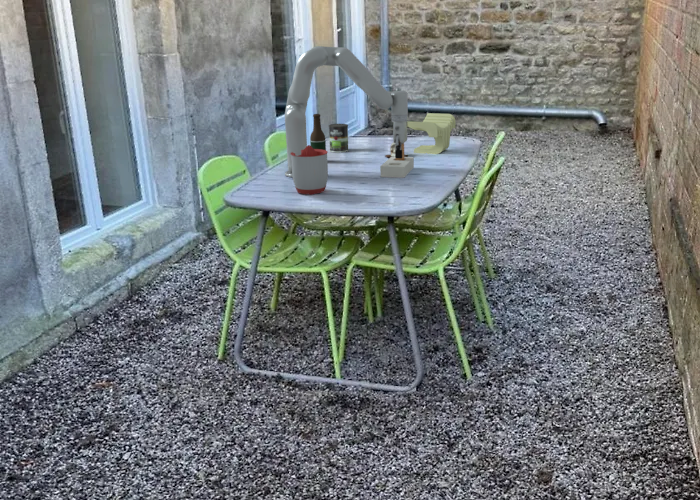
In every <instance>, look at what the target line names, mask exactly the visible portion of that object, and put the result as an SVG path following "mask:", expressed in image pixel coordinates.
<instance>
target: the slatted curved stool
mask: <svg viewBox="0 0 700 500" xmlns="http://www.w3.org/2000/svg"><path fill="white" fill-rule="evenodd" d="M406 123H407V128H409V129H412V130H413V131H423V132H426V133H427V135H428V138H433V140H434V141H435V143H434V144H430V145H426V144H423V145H419V146H417V147H415V148H413V154H424V155H425V154H426V153H427V154H428V155H430V154H431V155H438V154H440V153H442V152H444V151H445V150H448V148H449V147H450V141H451V140H450V139H451V132H452V130H453V129H456V117H455V115H453V114H451V113H435V112H434V113H430V112H427V113H426V116H425V117H424V119H423V120H422V121H410V120H409V121H407V122H406Z"/></svg>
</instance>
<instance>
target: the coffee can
mask: <svg viewBox="0 0 700 500" xmlns="http://www.w3.org/2000/svg"><path fill="white" fill-rule="evenodd" d="M328 132H329V134H328V135H329V136H328V137H329V152H331V153H334V152H335V154H336V153H337V154H339V153H340V152H341V153H346V151H347V152H349V125H348V124H347V123H331V124H329V125H328Z"/></svg>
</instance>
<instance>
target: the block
mask: <svg viewBox="0 0 700 500" xmlns="http://www.w3.org/2000/svg"><path fill="white" fill-rule="evenodd" d="M414 158H415V157H413V156H407V157H404V161H402V160H396V158H395V157H388V159H387V160H385V162H383V163H382V164H381V165H380V168H379V169H380V172H379V173H380V178H399V179H401V178H402V179H405V178H406V176H408V174H409V173H410V172H411V171H412V170H413V169H414V168H415V162H414V161H415V160H414Z"/></svg>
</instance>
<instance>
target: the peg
mask: <svg viewBox="0 0 700 500" xmlns="http://www.w3.org/2000/svg"><path fill="white" fill-rule="evenodd" d="M399 143H400V142H399ZM399 145H400V144H399ZM401 150H402V158H396V160H402V161H404V155H405V143H403V144H402V149H401Z"/></svg>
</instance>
